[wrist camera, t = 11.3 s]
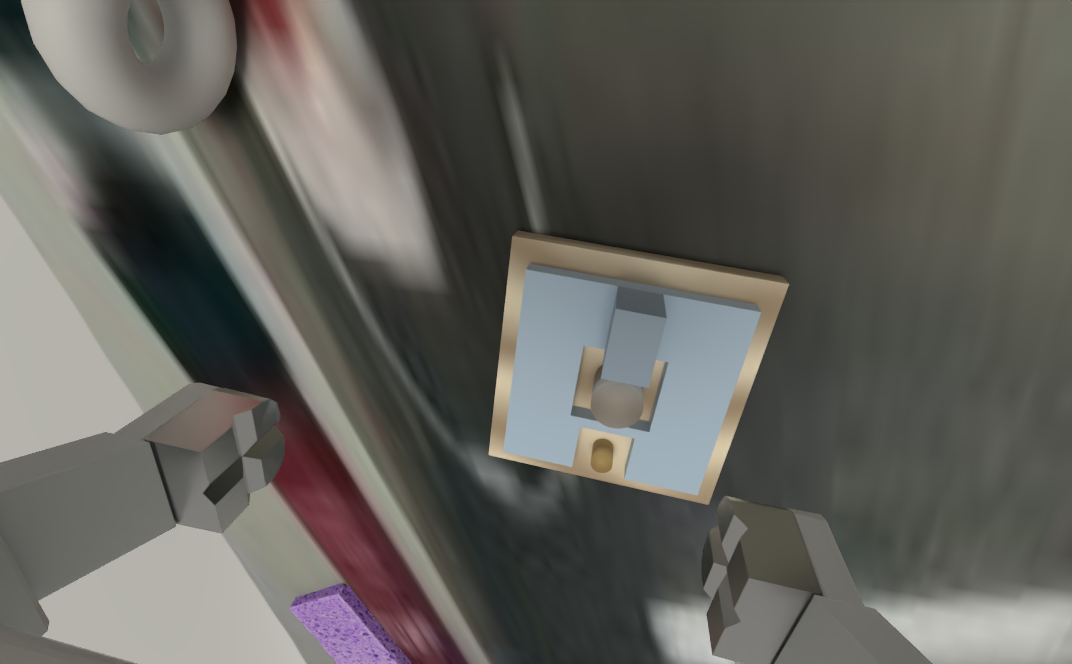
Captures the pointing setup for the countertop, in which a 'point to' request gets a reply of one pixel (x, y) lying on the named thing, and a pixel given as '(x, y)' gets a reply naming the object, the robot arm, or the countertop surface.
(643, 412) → the post board
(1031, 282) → the countertop surface
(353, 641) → the sponges
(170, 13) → the donut
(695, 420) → the flange plate
